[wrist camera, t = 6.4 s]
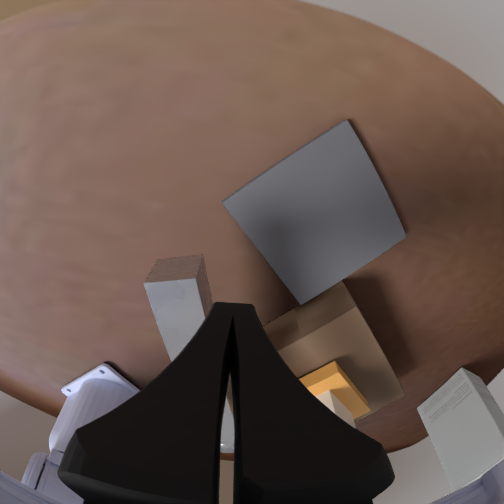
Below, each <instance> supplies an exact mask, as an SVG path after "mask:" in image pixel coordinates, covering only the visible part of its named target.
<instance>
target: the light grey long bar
mask: <svg viewBox="0 0 504 504" xmlns="http://www.w3.org/2000/svg"><path fill="white" fill-rule="evenodd" d="M144 286H145V289H146V292H147V296H148V299H149V302H150V305H151V308H152V310H153V313H154V316H155V319H156V322H157V325H158V327H159V330H160V333H161V336H162V338H163V341H164V344H165V346H166V349H167V351H168V354H169V356H170V359H171V361H173V360H174V359H175V358H176V357H177V356H178V355H179V353H180V352H181V351H182V350H183V349H184V347H185V346H186V345H187V344H188V343H189V341H190V340H191V339H192V337H193V336H194V334H195V333H196V332H197V330H198V329H199V327H200V326H201V324H202V323H203V321H204V320H205V318H206V316H207V315H208V313H209V311H210V309H211V307H212V304H213V301H212V296H211V291H210V287H209V282H208V277H207V272H206V267H205V262H204V257H203V254H201V255H192V256H183V257H174V258H165V259H157V261H156V263H155V264H154V266H153V268H152V270H151V271H150V273H149V275H148V276H147V278H146V280H145V282H144ZM220 452H224V453H233V452H234V417H233V405H232V392H231V378H230V375H229V382H228V388H227V395H226V402H225V408H224V415H223V421H222V430H221V449H220Z"/></svg>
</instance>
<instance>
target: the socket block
mask: <svg viewBox="0 0 504 504" xmlns="http://www.w3.org/2000/svg"><path fill="white" fill-rule="evenodd" d="M263 328H264V330H265V332H266V334H267V336H268V337H269V339H270V341H271V342H272V344H273V346H274V347H275V349H276V350H277V352H278V353H279V355H280V356H281V357H282V359H283V360H284V362H285V363H286V364H287V366H288V367H289V368H290V369H291V371H292V372H293V373H294V374H295V376H296V377H297V378H298V379H300V378H302V377H304V376H306V375H308V374H310V373H312V372H314V371H316V370H318V369H320V368H322V367H324V366H326V365H328V364H329V363H331V362H333V361H335V362H336V363H337V364H338V365H339V367H340V368H341V369H342V370H343V372H344V373H345V374H346V375H347V377H348V378H349V379H350V380H351V382H352V383H353V384H354V385H355V387H356V388H357V389H358V390H359V391H360V393H361V394H362V395H363V396H364V398H365V399H366V400H367V402H368V405H369V407H370V410H371V411H370V412H368V413H366V414H364V415H362V416H360V417H358V418H356V419H353V420H354V422H356V421H358V420H360V419H362V418H364V417H366V416H368V415H370V414H372V413H374V412H376V411H378V410H380V409H382V408H383V407H385V406H387V405H389V404H391V403H393V402H394V401H396V400H398V399H400V398H401V397H403V396H405V393H404V391H403V389H402V387H401V385H400V383H399V381H398V379H397V377H396V375H395V373H394V371H393V369H392V367H391V365H390V363H389V361H388V359H387V358H386V356H385V354H384V352H383V350H382V348H381V347H380V345H379V343H378V341H377V339H376V338H375V336H374V334H373V332H372V330H371V329H370V327H369V325H368V323H367V322H366V320H365V318H364V316H363V315H362V313H361V311H360V310H359V308H358V306H357V305H356V303H355V301H354V299H353V298H352V296H351V294H350V293H349V291H348V289H347V288H346V286H345V284H344V283H343V281H342V280H341V281H340V282H338V283H336V284H335V285H333V286H332V287H330V288H328V289H327V290H325V291H324V292H322V293H320V294H319V295H317V296H315V297H314V298H312V299H310V300H309V301H307V302H305V303H304V304H302V305H299V306H297V307H296V308H294V309H292V310H291V311H289V312H287V313H285V314H284V315H282V316H280V317H278V318H277V319H275V320H273V321H271V322H270V323H268V324H266V325H264V326H263ZM230 378H231V377H230Z"/></svg>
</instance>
